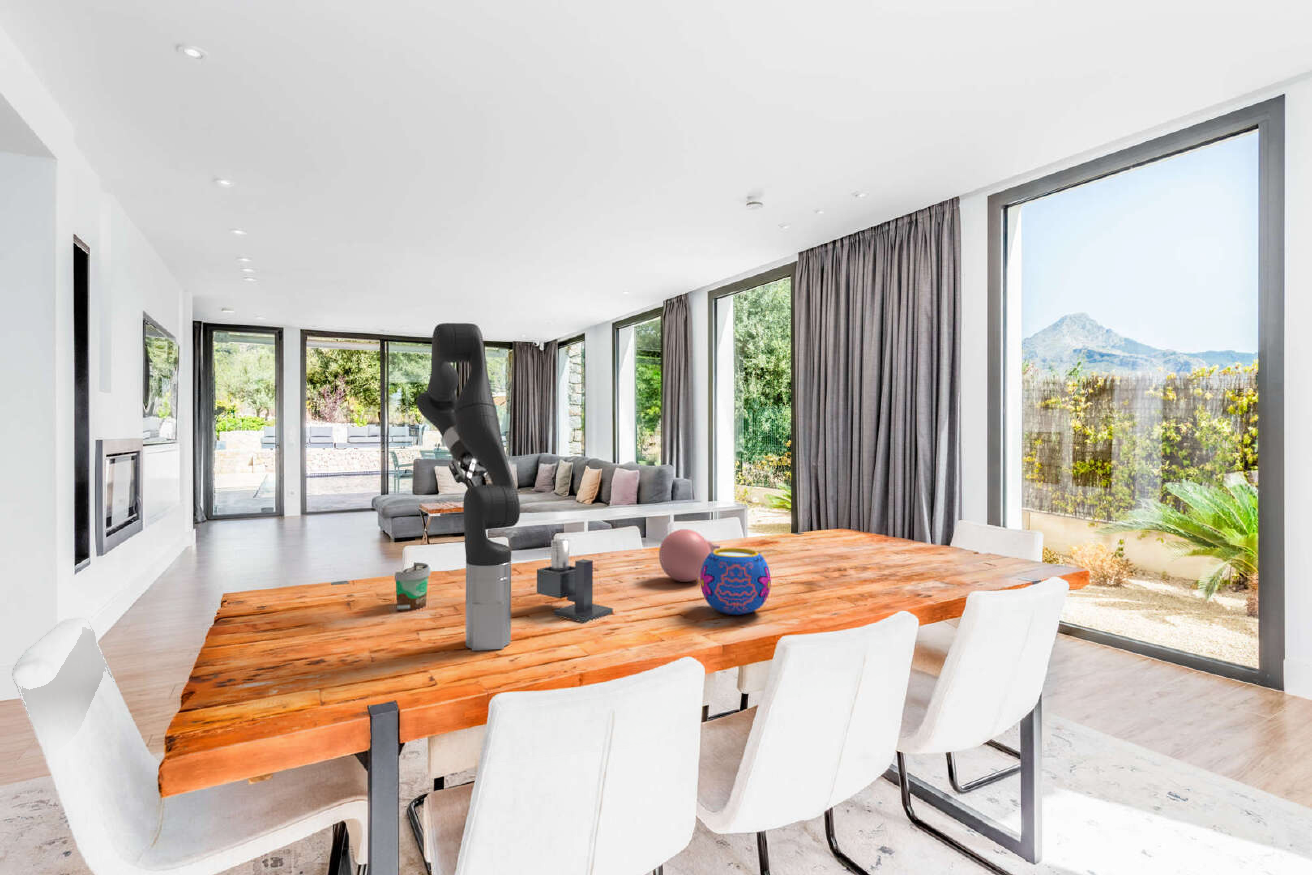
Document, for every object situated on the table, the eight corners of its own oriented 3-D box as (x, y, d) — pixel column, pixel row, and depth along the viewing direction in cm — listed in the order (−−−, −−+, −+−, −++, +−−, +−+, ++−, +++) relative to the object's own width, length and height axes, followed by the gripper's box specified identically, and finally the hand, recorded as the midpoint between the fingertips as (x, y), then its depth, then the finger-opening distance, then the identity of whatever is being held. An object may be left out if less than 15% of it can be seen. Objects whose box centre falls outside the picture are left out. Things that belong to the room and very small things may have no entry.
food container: (419, 614, 155) (419, 572, 155) (394, 613, 155) (394, 572, 155) (438, 600, 168) (438, 562, 168) (414, 600, 168) (414, 562, 168)
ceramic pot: (767, 603, 167) (768, 546, 167) (773, 624, 150) (774, 560, 149) (700, 601, 169) (701, 544, 169) (698, 621, 151) (699, 557, 151)
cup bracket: (612, 613, 157) (613, 560, 157) (584, 622, 149) (585, 567, 149) (562, 601, 168) (562, 551, 167) (534, 610, 159) (534, 557, 159)
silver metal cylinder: (569, 590, 159) (569, 541, 159) (551, 590, 158) (551, 542, 158) (567, 586, 164) (568, 539, 164) (550, 586, 163) (550, 539, 163)
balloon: (733, 583, 189) (734, 531, 189) (672, 589, 181) (672, 535, 181) (708, 572, 203) (709, 523, 203) (650, 577, 195) (651, 527, 195)
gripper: (445, 435, 162) (473, 483, 156) (491, 435, 174) (519, 480, 167) (433, 455, 166) (460, 503, 159) (479, 454, 177) (505, 498, 170)
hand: (490, 491), depth 163 cm, fingers open, 8 cm apart
